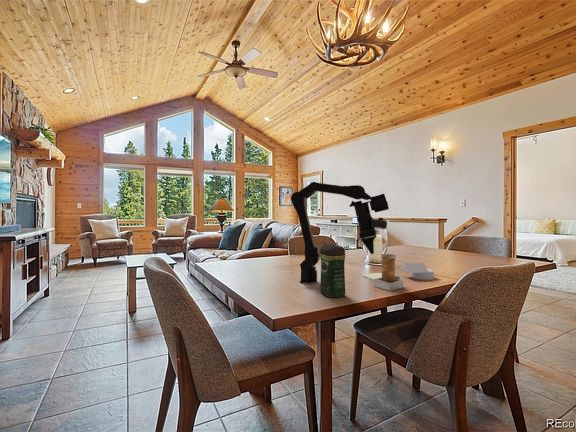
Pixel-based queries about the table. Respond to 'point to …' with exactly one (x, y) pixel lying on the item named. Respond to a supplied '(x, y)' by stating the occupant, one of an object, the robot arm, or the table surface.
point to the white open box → (389, 284)
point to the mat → (372, 276)
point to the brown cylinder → (388, 267)
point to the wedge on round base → (419, 271)
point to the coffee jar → (332, 271)
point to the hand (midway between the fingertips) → (372, 252)
